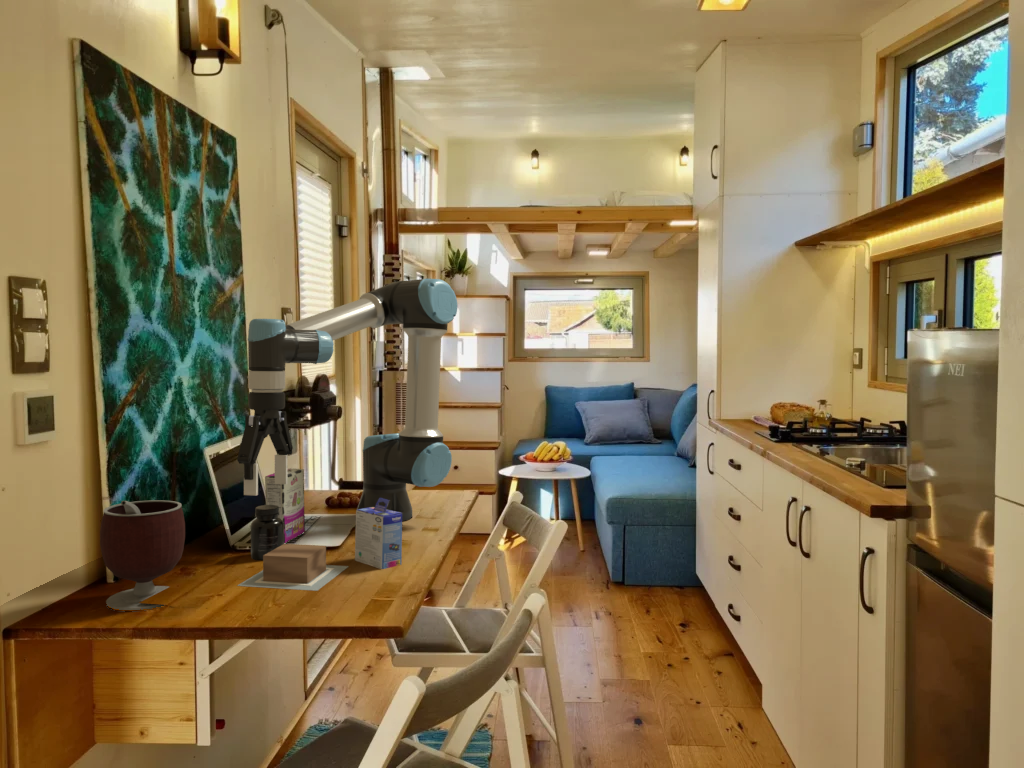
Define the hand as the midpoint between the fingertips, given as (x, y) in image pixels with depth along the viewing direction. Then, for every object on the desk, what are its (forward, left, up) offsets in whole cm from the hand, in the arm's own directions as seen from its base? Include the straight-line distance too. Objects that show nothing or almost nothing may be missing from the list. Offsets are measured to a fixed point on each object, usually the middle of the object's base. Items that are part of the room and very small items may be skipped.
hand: (266, 489), depth 161 cm
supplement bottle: (0, 0, -16) cm, 16 cm away
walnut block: (+12, +12, -15) cm, 22 cm away
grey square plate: (+12, +12, -16) cm, 23 cm away
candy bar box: (-19, -5, -16) cm, 25 cm away
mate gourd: (+28, -10, -16) cm, 34 cm away
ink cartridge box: (0, +25, -16) cm, 30 cm away
